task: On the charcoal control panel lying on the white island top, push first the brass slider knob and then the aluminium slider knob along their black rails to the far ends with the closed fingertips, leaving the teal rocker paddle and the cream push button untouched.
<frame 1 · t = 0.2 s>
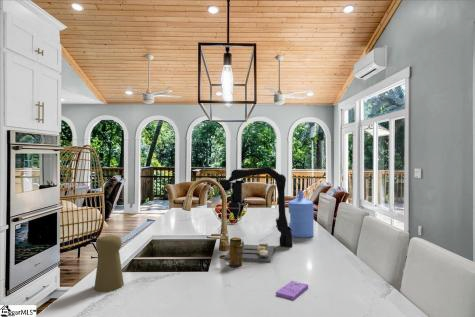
hand: (237, 218, 179), 14 cm above the worktop, tool pointing down, fingers open, 9 cm apart
panel: (251, 254, 158), on the worktop
water jug: (301, 235, 197), on the worktop
slider A: (261, 250, 153), point 3 cm above the worktop, slide at 0.0 cm
condiment: (236, 265, 142), on the worktop
sponges: (292, 293, 113), on the worktop
slider B: (263, 246, 160), point 3 cm above the worktop, slide at 0.0 cm
button: (263, 253, 148), point 3 cm above the worktop, slide at 0.0 cm
rocker: (238, 243, 167), point 3 cm above the worktop, hinge at -13.0°
cork: (109, 286, 119), on the worktop
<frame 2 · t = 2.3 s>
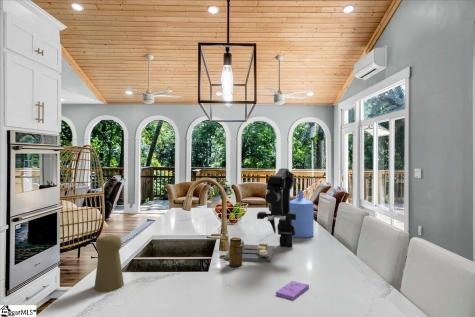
hand: (276, 233, 152), 12 cm above the worktop, tool pointing down, fingers closed
nothing on the worktop moved.
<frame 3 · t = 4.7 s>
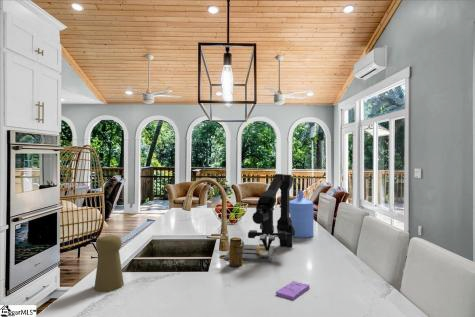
hand: (267, 252, 153), 3 cm above the worktop, tool pointing down, fingers closed
slider A: (260, 250, 153), point 3 cm above the worktop, slide at 0.6 cm, touching gripper
everything else where it was.
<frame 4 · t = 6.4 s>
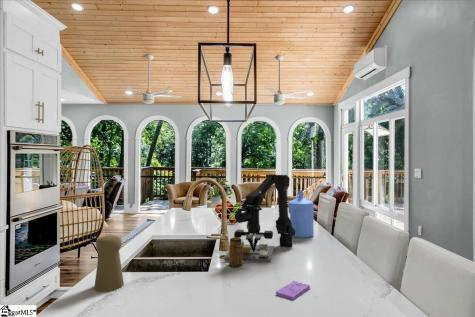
hand: (253, 251, 154), 3 cm above the worktop, tool pointing down, fingers closed
slider A: (246, 249, 155), point 3 cm above the worktop, slide at 7.4 cm, touching gripper
everything else where it was.
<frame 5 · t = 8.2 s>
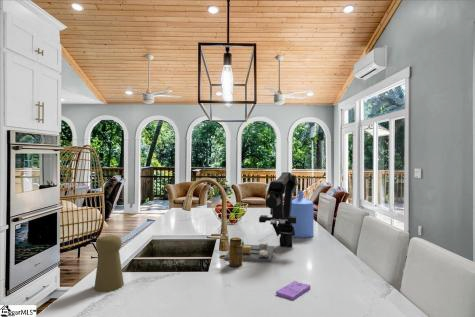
hand: (277, 236, 159), 9 cm above the worktop, tool pointing down, fingers closed
slider A: (246, 249, 155), point 3 cm above the worktop, slide at 7.5 cm
everything else where it was.
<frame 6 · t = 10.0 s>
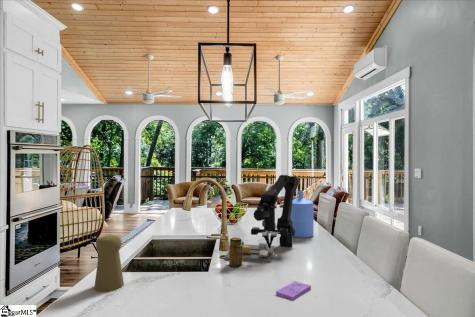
hand: (269, 248, 159), 3 cm above the worktop, tool pointing down, fingers closed
slider B: (262, 246, 160), point 3 cm above the worktop, slide at 0.3 cm, touching gripper
everything else where it was.
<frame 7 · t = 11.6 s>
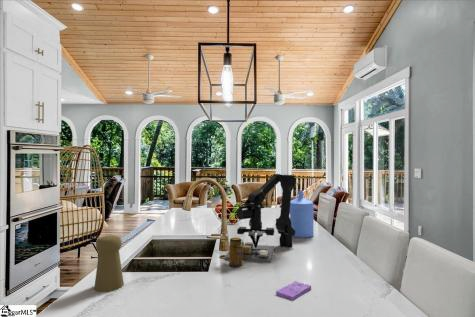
hand: (255, 247, 161), 3 cm above the worktop, tool pointing down, fingers closed
slider B: (249, 245, 162), point 3 cm above the worktop, slide at 7.4 cm, touching gripper
everything else where it was.
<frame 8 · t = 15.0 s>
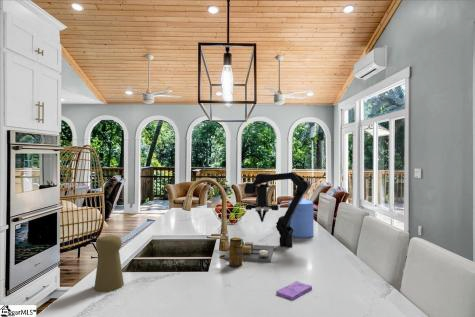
hand: (262, 221, 180), 12 cm above the worktop, tool pointing down, fingers closed
slider B: (249, 245, 162), point 3 cm above the worktop, slide at 7.5 cm
everything else where it was.
at the end: slider A slide at 7.5 cm; slider B slide at 7.5 cm; button slide at 0.0 cm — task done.
